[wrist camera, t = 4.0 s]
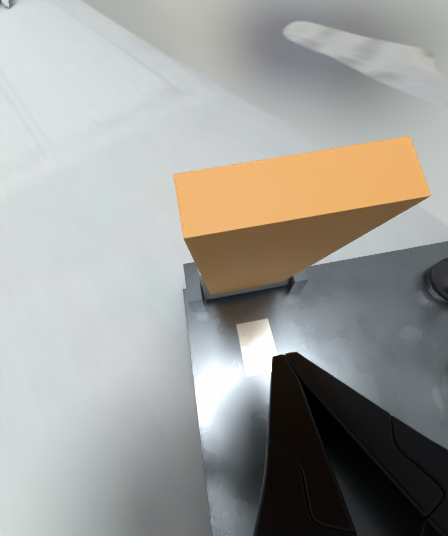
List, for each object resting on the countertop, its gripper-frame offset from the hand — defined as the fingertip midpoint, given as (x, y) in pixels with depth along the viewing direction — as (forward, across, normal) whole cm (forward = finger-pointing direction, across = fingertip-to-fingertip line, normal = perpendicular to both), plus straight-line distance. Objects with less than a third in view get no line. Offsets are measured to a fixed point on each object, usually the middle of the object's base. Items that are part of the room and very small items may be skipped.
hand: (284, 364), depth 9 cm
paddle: (+8, 0, 0) cm, 8 cm away
